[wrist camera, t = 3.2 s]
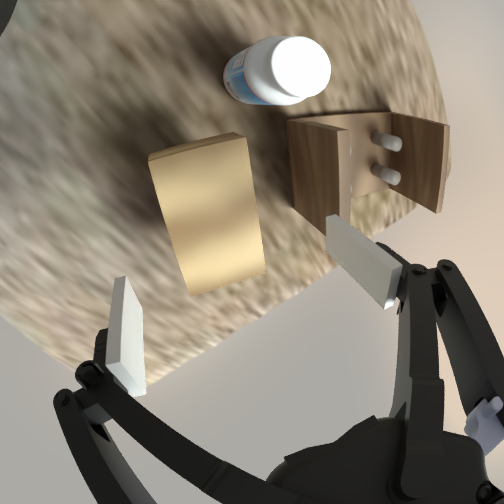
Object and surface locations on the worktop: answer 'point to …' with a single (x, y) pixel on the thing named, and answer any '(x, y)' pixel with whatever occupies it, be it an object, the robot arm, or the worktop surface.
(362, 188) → the peg frame
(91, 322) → the worktop surface
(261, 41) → the pill bottle
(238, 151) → the shelf board
